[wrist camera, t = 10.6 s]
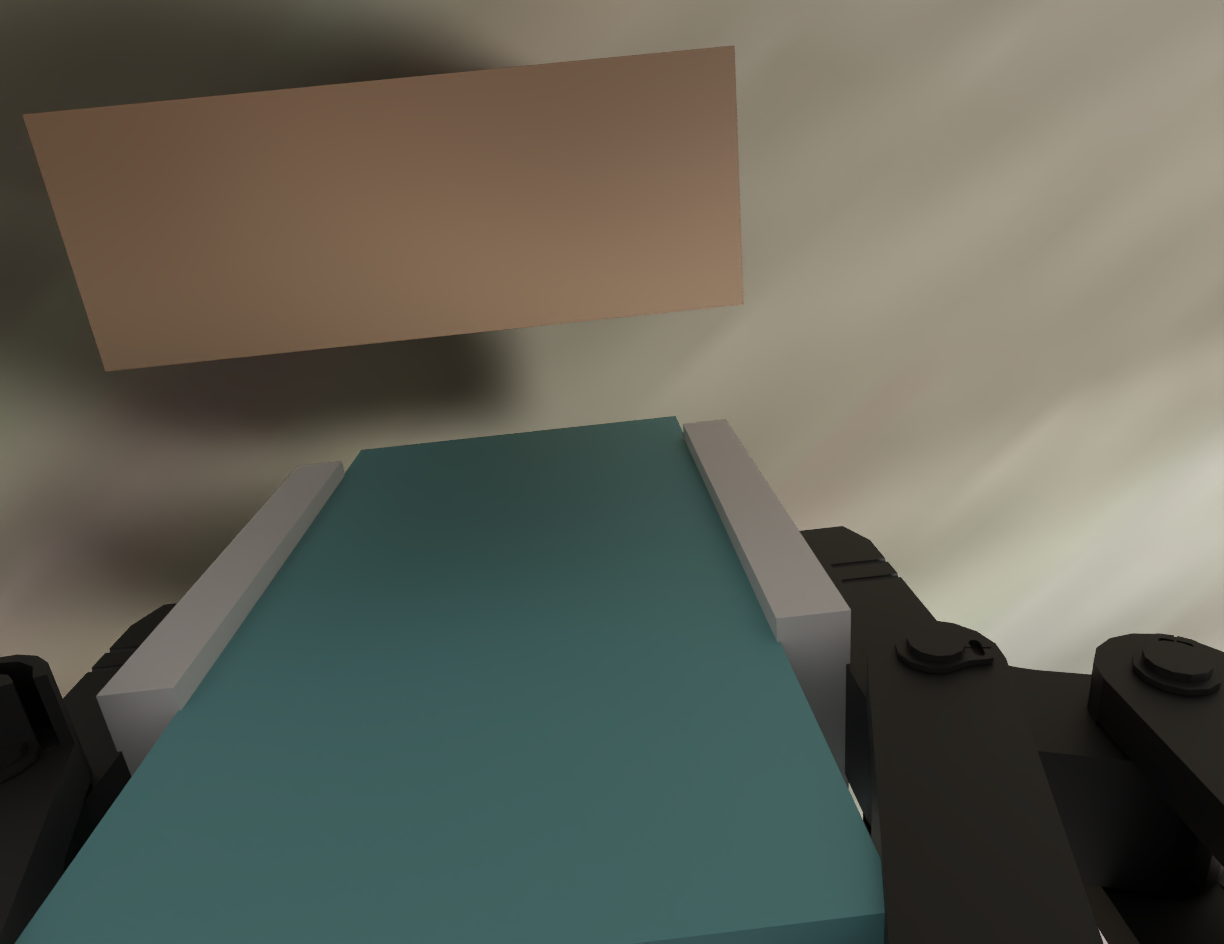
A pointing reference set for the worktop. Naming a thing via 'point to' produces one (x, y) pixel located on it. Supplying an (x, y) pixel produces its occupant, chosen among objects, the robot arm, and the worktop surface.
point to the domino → (399, 206)
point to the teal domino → (491, 729)
